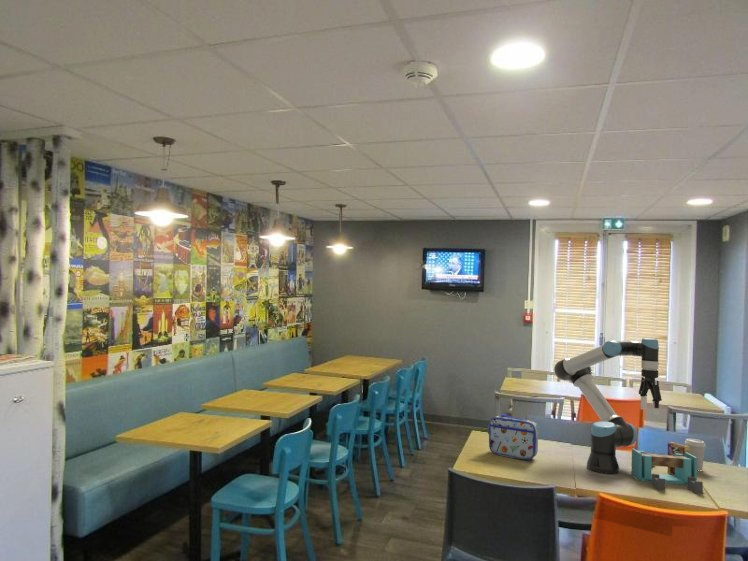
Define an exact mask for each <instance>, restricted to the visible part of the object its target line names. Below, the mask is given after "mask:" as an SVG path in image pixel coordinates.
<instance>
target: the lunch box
mask: <svg viewBox="0 0 748 561" xmlns="http://www.w3.org/2000/svg"><path fill="white" fill-rule="evenodd" d="M488 422H489V423H488V426H487V427H486V431H487V434H488V447H489V450H490V452H491V453H492V454H495V455H497V456H502V457H507V458H511V459H518V460H519V459H520V460H526V461H527V460H528V461H529V460H532V459H534V458H535V457H536V456H537V454H538V450H539V449H538V448H539V426H538V424H537V423H536V422H535V421H534V420H533V421H532V420H529V419H523V418H520V417H514V416H510V415H509V414H506V413H502V414H501V415H496V416H494V417H491V418H490V420H489V421H488Z"/></svg>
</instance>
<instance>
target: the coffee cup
mask: <svg viewBox="0 0 748 561" xmlns="http://www.w3.org/2000/svg"><path fill="white" fill-rule="evenodd" d="M684 445H686V446H689V454H691V455H693V456H695V457H697V470H699V471H698V472H701V471H700V470H702V471H703V470H704V469H703V468H704V458H705V457H704V456H705V450H706V449H705V448H706V447H707V446H706V443H705V442H704V441H703V440H701V439H696V438H686V439H685V441H684Z"/></svg>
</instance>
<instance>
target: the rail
mask: <svg viewBox="0 0 748 561" xmlns="http://www.w3.org/2000/svg"><path fill="white" fill-rule="evenodd" d="M644 455H650V456H652V467H664V468H665V467H667V468H668V467H676V468H683V458H687V457H684V456H670V455H668V454H657V453H656V454H655V453H648V454H642V465H644Z"/></svg>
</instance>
